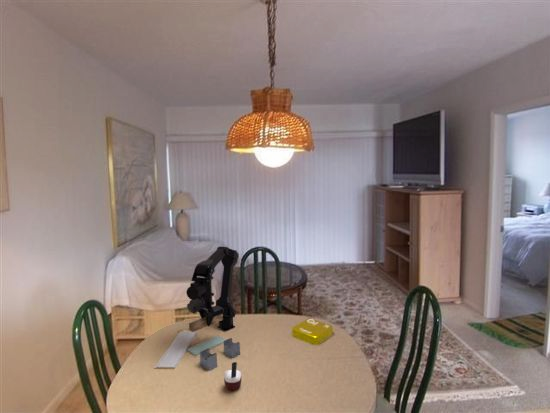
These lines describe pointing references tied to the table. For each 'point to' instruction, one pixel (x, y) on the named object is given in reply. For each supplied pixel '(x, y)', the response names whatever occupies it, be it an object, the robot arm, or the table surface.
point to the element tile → (312, 331)
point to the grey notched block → (208, 359)
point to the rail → (203, 323)
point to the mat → (206, 345)
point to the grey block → (231, 348)
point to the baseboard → (176, 351)
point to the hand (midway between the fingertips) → (206, 325)
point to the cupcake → (232, 377)
